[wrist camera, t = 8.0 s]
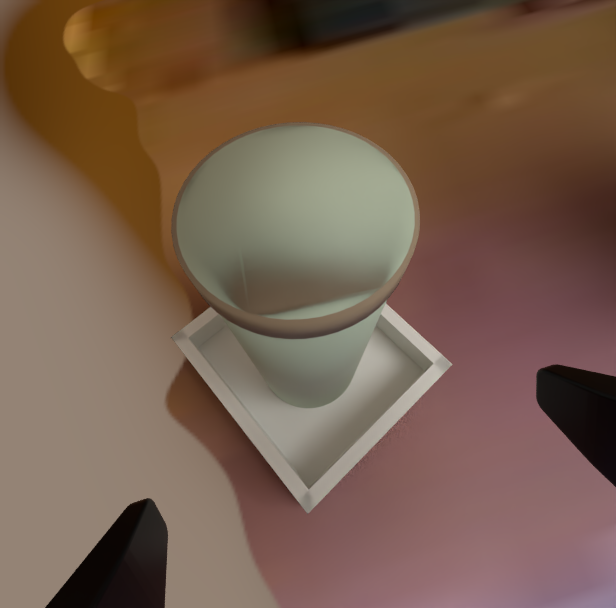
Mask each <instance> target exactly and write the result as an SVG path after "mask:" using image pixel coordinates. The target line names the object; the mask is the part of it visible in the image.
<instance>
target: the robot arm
mask: <svg viewBox="0 0 616 608" xmlns="http://www.w3.org/2000/svg"><path fill="white" fill-rule="evenodd" d="M536 398H537V402H538V404H539V406H540V407H541V409H542V410H543V411H544V412H545V413H546V414H547V416H548V417H549V418H550V419H551V420H552V421H553V422H554V423H555V424H556V425H557V427H558V428H559V429H560V430H561V431H562V432H563V433H564V434H565V435H566V437H567V438H568V439H569V440H570V441H571V442H572V443H573V444H574V445H575V446H576V448H577V449H578V450H579V451H580V452H581V453H582V454H583V455H584V456H585V457H586V458H587V460H588V461H589V462H590V463H591V464H592V465H593V466H594V467H595V468H596V469H597V470H598V471H599V472H600V473H601V474H602V475H604V476H605V477H606V478H607V479H608V480H609V481H610V482H611V483H612V484H613V485H614V486H615V487H616V377H615V376H610V375H605V374H601V373H596V372H591V371H586V370H582V369H577V368H572V367H567V366H562V365H551V366H548V367H544V368H541V369H540V370H538V372H537V376H536ZM167 543H168V531H167V527H166V523H165V521H164V520H163V518H162V516H161V514H160V512H159V510H158V508H157V507H156V505H155V503H154V501H153V500H152V499H149V498H147V499H143V500H140V501H137V502H134V503H132V504H130V505H129V506H128V507H127V508H126V509H125V510H124V511H123V513H122V514H121V515H120V516H119V518H118V519H117V520H116V521H115V523H114V524H113V525H112V526H111V528H110V529H109V530H108V531H107V532H106V534H105V535H104V536H103V537H102V539H101V540H100V541H99V542H98V543H97V545H96V546H95V547H94V548H93V550H92V551H91V552H90V553H89V554H88V556H87V557H86V558H85V560H84V561H83V562H82V563H81V564H80V566H79V567H78V568H77V569H76V570H75V572H74V573H73V574H72V576H71V577H70V578H69V579H68V581H67V582H66V583H65V584H64V585H63V587H62V588H61V589H60V590H59V592H58V593H57V594H56V595H55V596H54V598H53V599H52V600H51V601H50V602H49V604H48V605H47V606H46V607H45V608H165V586H166V565H167Z"/></svg>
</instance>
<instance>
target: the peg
mask: <svg viewBox="0 0 616 608" xmlns="http://www.w3.org/2000/svg"><path fill="white" fill-rule="evenodd" d="M419 228H420V212H419V206H418V200H417V197H416V194H415V191H414V188H413V186H412V184H411V182H410V180H409V178H408V176H407V175H406V173H405V172H404V171H403V169H402V168H401V166H400V165H399V164H398V163H397V162H396V161H395V160H394V159H393V158H392V156H391V155H389V154H388V153H387V152H386V151H385V150H383V149H382V148H381V147H380V146H378V145H376V144H375V143H373V142H372V141H370V140H369V139H367V138H365V137H363V136H361V135H358V134H356V133H354V132H351V131H348V130H346V129H343V128H339V127H335V126H331V125H325V124H319V123H307V122H293V123H281V124H274V125H269V126H265V127H260V128H257V129H254V130H251V131H248V132H245V133H243V134H241V135H238V136H236V137H234V138H232V139H230V140H228V141H227V142H225V143H223V144H221V145H220V146H219V147H217V148H216V149H214V150H213V151H211V152H210V153H209V154H208V155H207V156H206V157H205V158H203V159H202V160H201V161H200V162H199V163H198V164H197V166H196V167H195V168H194V169H193V170H192V171H191V173H190V174H189V176H188V177H187V179H186V180H185V181H184V183H183V185H182V187H181V189H180V191H179V193H178V196H177V199H176V202H175V205H174V209H173V215H172V239H173V246H174V249H175V252H176V255H177V258H178V260H179V262H180V264H181V266H182V268H183V270H184V272H185V273H186V275H187V276H188V278H189V279H190V280H191V282H192V283H193V285H194V286H195V287H196V289H197V290H198V292H199V293H200V294H201V296H202V297H203V298H204V300H205V301H206V302H207V303H208V304H209V305H210V306H211V307H212V308H213V309H214V310H215V311H216V312H217V313H218V314H220V315H221V317H222V318H223V320H224V321H225V323H226V324H227V326H228V327H229V328H230V330H231V331H232V333H233V334H234V336H235V337H236V339H237V340H238V342H239V343H240V345H241V346H242V348H243V349H244V351H245V352H246V353H247V355H248V356H249V358H250V359H251V361H252V362H253V364H254V365H255V367H256V368H257V370H258V371H259V373H260V374H261V375H262V377H263V378H264V380H265V381H266V383H267V384H268V386H269V387H270V389H271V390H272V391H273V392H274V394H275V395H276V396H277V397H279V398H280V399H281V400H283V401H284V402H286V403H288V404H290V405H293V406H296V407H300V408H317V407H321V406H325V405H327V404H329V403H331V402H333V401H335V400H336V399H337V398H339V397H340V396H341V395H342V394H343V393H344V392H345V391H346V389H347V388H348V386H349V385H350V383H351V381H352V378H353V376H354V374H355V372H356V369H357V367H358V365H359V362H360V360H361V358H362V356H363V353H364V351H365V349H366V347H367V344H368V342H369V340H370V337H371V335H372V333H373V331H374V328H375V326H376V324H377V321H378V319H379V317H380V315H381V312H382V310H383V308H384V306H385V303H386V301H387V299H388V298H389V297H390V296H391V294H392V293H393V292H394V290H395V289H396V287H397V286H398V284H399V282H400V280H401V278H402V276H403V274H404V272H405V270H406V268H407V266H408V264H409V261H410V259H411V257H412V255H413V253H414V250H415V247H416V244H417V240H418V235H419Z"/></svg>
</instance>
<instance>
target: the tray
mask: <svg viewBox="0 0 616 608" xmlns="http://www.w3.org/2000/svg"><path fill="white" fill-rule="evenodd" d="M171 338H172V339H173V340H174V342H175V343H176V344H177V346H178V347H179V348H180V350H181V351H182V352H183V353H184V355H185V356H186V357H187V359H188V360H189V361H190V362H191V364H192V365H193V366H194V368H195V369H196V370H197V372H198V373H199V374H200V375H201V377H202V378H203V379H204V381H205V382H206V383H207V384H208V386H209V387H210V388H211V390H212V391H213V392H214V394H215V395H216V396H217V397H218V399H219V400H220V401H221V403H222V404H223V405H224V406H225V408H226V409H227V410H228V412H229V413H230V414H231V415H232V417H233V418H234V419H235V421H236V422H237V423H238V425H239V426H240V427H241V428H242V430H243V431H244V432H245V434H246V435H247V436H248V437H249V439H250V440H251V441H252V443H253V444H254V445H255V447H256V448H257V449H258V450H259V452H260V453H261V454H262V456H263V457H264V458H265V459H266V461H267V462H268V463H269V465H270V466H271V467H272V468H273V470H274V471H275V472H276V474H277V475H278V476H279V478H280V479H281V480H282V481H283V483H284V484H285V485H286V487H287V488H288V489H289V490H290V492H291V493H292V494H293V496H294V497H295V498H296V500H297V501H298V502H299V503H300V505H301V506H302V507H303V509H304V510H305V511H306V512H307V514H308V513H309V512H310V511H311V510H312V509H313V508H314V507H315V506H316V505H317V504H318V503H319V502H320V501H321V500H322V499H323V498H324V497H325V496H326V495H327V494H328V493H329V492H330V490H331V489H332V488H333V487H334V486H335V485H336V484H337V483H338V482H339V481H340V480H341V479H342V478H343V477H344V476H345V475H346V474H347V473H348V472H349V471H350V470H351V469H352V468H353V467H354V466H355V465H356V464H357V463H358V462H359V460H360V459H361V458H362V457H363V456H364V455H365V454H366V453H367V452H368V451H369V450H370V449H371V448H372V447H373V446H374V445H375V444H376V443H377V442H378V441H379V440H380V439H381V438H382V437H383V436H384V435H385V434H386V433H387V431H388V430H389V429H390V428H391V427H392V426H393V425H394V424H395V423H396V422H397V421H398V420H399V419H400V418H401V417H402V416H403V415H404V414H405V413H406V412H407V411H408V410H409V409H410V408H411V407H412V406H413V405H414V404H415V402H416V401H417V400H418V399H419V398H420V397H421V396H422V395H423V394H424V393H425V392H426V391H427V390H428V389H429V388H430V387H431V386H432V385H433V384H434V383H435V382H436V381H437V380H438V379H439V378H440V377H441V376H442V375H443V373H444V372H445V371H446V370H447V369H448V368H449V367H450V366H451V365H452V364H451V363H450V362H449V361H448V360H447V359H446V358H445V357H444V356H443V355H442V354H441V353H439V352H438V351H437V350H436V349H435V348H434V347H433V346H432V345H431V344H430V343H428V342H427V341H426V340H425V339H424V338H423V337H422V336H421V335H420V334H419V333H418V332H416V331H415V330H414V329H413V328H412V327H411V326H410V325H409V324H408V323H407V322H405V321H404V320H403V319H402V318H401V317H400V316H399V315H398V314H397V313H396V312H395V311H393V310H392V309H391V308H390V307H389V306H388V305H387V304H386V303H385V306H384V308H383V310H382V312H381V315H380V317H379V319H378V321H377V324H376V326H375V328H374V331H373V333H372V335H371V337H370V340H369V342H368V344H367V347H366V349H365V351H364V353H363V356H362V358H361V360H360V362H359V365H358V367H357V369H356V372H355V374H354V376H353V378H352V381H351V383H350V385H349V386H348V388H347V389H346V391H345V392H344V393H343V394H342V395H341V396H340V397H339V398H337V399H336V400H335V401H333V402H331V403H329V404H327V405H325V406H321V407H317V408H300V407H296V406H293V405H290V404H288V403H286V402H284V401H283V400H281V399H280V398H279V397H277V396H276V395H275V394H274V392H273V391H272V390H271V389H270V387H269V386H268V384H267V383H266V381H265V380H264V378H263V377H262V375H261V374H260V373H259V371H258V370H257V368H256V367H255V365H254V364H253V362H252V361H251V359H250V358H249V356H248V355H247V353H246V352H245V351H244V349H243V348H242V346H241V345H240V343H239V342H238V340H237V339H236V337H235V336H234V334H233V333H232V331H231V330H230V328H229V327H228V326H227V324H226V323H225V321H224V320H223V318H222V317H221V315H220V314H218V313H217V312H216V311H215V310H214V309H213V308H212V307H210V308H208V309H207V310H206V311H205V312H203V313H202V314H201V315H199V316H198V317H197V318H195V319H194V320H193V321H191V322H190V323H189V324H188V325H186V326H185V327H184V328H182V329H181V330H180V331H178V332H177V333H176V334H174V335H173V336H172V337H171Z"/></svg>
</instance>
